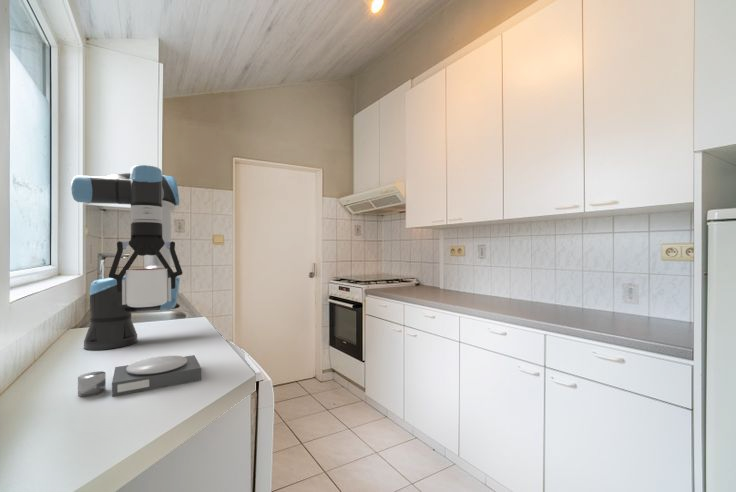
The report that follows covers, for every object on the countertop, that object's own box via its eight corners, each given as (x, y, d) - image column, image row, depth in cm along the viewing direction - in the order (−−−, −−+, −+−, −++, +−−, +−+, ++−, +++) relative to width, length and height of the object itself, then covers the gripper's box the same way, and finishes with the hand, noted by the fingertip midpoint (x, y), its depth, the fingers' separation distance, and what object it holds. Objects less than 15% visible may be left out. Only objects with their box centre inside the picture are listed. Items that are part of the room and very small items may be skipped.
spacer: (79, 391, 83) (79, 374, 83) (106, 387, 86) (106, 370, 86) (76, 399, 79) (76, 380, 79) (104, 394, 81) (104, 376, 81)
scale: (115, 379, 91) (115, 363, 91) (194, 365, 100) (194, 351, 100) (111, 397, 79) (111, 378, 79) (201, 380, 89) (201, 364, 89)
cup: (175, 302, 105) (175, 268, 105) (151, 308, 95) (151, 270, 95) (143, 302, 106) (143, 268, 106) (116, 308, 96) (116, 270, 96)
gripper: (94, 219, 91) (95, 307, 91) (193, 222, 104) (193, 300, 103) (97, 221, 98) (97, 304, 98) (190, 224, 110) (190, 297, 110)
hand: (147, 302), depth 100 cm, fingers closed on cup, 10 cm apart
